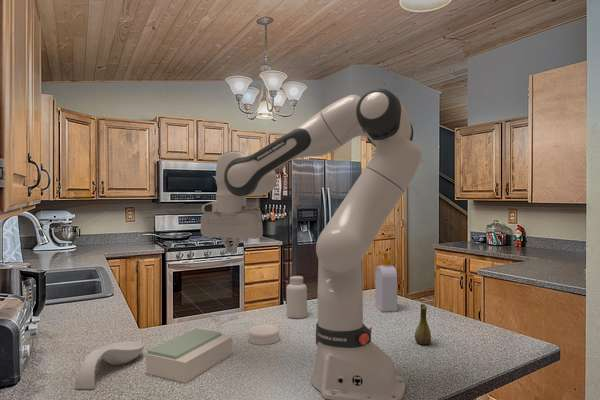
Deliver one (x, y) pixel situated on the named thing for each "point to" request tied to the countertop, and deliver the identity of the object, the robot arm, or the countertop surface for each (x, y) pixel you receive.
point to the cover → (184, 343)
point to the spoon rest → (110, 354)
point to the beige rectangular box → (190, 361)
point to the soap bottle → (386, 286)
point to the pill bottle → (296, 298)
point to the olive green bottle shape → (423, 328)
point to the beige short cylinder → (263, 334)
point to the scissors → (221, 322)
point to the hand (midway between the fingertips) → (231, 252)
